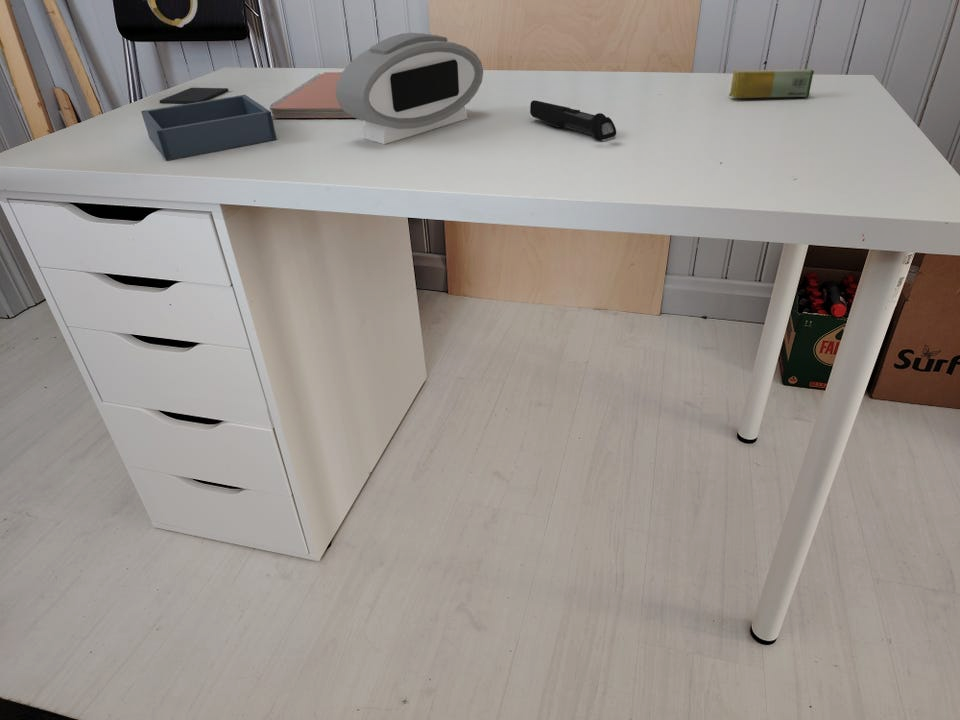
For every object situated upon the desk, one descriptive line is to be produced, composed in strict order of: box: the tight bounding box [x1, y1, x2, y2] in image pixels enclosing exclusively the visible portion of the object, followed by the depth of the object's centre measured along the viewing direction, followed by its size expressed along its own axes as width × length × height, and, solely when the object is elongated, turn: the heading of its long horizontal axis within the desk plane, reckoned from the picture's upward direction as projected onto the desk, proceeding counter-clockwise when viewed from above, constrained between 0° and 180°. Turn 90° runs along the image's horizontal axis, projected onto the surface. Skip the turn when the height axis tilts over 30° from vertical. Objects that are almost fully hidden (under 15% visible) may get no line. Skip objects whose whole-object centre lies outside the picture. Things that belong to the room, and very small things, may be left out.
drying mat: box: [158, 87, 229, 105], centre depth 120 cm, size 10×8×1 cm
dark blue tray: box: [140, 94, 277, 162], centre depth 96 cm, size 16×14×4 cm
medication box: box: [728, 68, 815, 99], centre depth 103 cm, size 12×3×4 cm, turn 89°
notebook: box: [269, 71, 356, 119], centre depth 114 cm, size 27×17×2 cm, turn 173°
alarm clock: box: [336, 32, 484, 145], centre depth 94 cm, size 23×6×13 cm, turn 136°
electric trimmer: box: [529, 99, 617, 142], centre depth 94 cm, size 4×16×3 cm, turn 38°
